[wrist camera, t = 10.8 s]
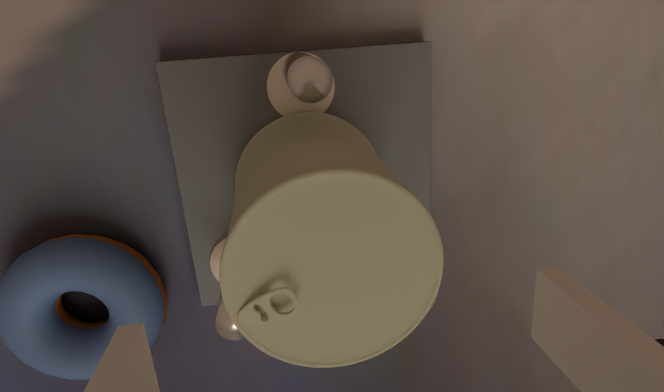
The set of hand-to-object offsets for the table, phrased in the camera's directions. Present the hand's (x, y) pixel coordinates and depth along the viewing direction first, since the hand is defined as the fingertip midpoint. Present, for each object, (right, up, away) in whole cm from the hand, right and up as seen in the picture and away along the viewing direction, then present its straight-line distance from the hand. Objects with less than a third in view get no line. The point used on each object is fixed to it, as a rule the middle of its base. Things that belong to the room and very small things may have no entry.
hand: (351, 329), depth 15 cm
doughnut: (-17, -2, +16) cm, 23 cm away
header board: (-2, +6, +15) cm, 16 cm away
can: (-2, +5, +14) cm, 15 cm away
